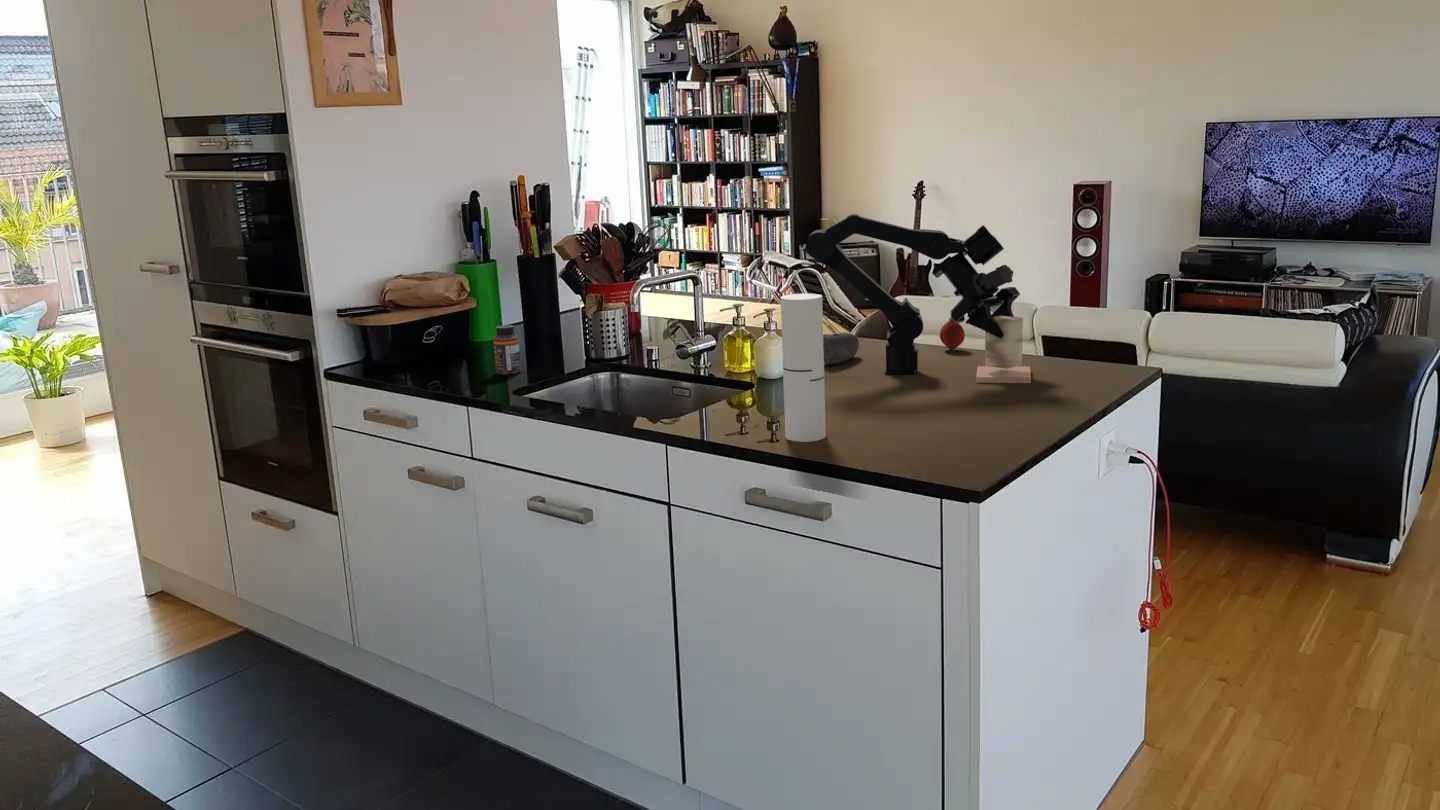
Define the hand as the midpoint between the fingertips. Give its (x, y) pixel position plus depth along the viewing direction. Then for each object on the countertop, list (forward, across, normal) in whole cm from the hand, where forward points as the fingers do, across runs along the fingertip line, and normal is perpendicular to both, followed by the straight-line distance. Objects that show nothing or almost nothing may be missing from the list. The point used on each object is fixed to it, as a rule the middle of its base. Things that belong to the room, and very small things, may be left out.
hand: (1009, 334), depth 235 cm
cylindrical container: (+4, -60, +9) cm, 61 cm away
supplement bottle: (-63, -59, +77) cm, 116 cm away
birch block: (+4, 0, +6) cm, 7 cm away
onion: (-13, +19, +26) cm, 35 cm away
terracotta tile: (+6, 0, +8) cm, 9 cm away
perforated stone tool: (-22, -6, +36) cm, 43 cm away
